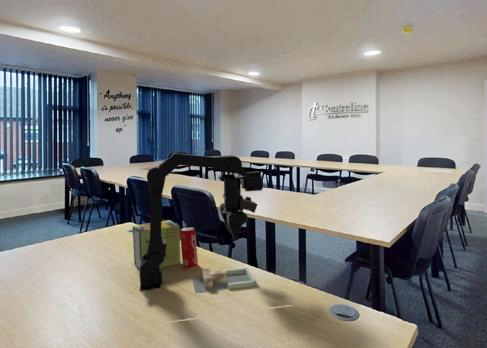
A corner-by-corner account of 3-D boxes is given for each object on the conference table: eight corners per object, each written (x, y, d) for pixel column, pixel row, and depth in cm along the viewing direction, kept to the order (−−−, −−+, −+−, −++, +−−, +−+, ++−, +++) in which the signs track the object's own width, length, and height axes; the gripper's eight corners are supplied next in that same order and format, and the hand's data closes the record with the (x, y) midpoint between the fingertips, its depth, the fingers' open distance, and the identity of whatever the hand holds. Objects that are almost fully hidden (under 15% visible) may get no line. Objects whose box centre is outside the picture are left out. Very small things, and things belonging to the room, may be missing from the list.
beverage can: (195, 270, 123) (194, 231, 122) (178, 269, 125) (177, 230, 123) (200, 264, 129) (199, 226, 128) (184, 263, 131) (183, 226, 129)
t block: (205, 289, 107) (204, 278, 107) (202, 278, 115) (202, 269, 115) (227, 286, 109) (227, 276, 109) (223, 276, 117) (223, 266, 117)
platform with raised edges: (195, 294, 105) (195, 288, 105) (192, 278, 116) (192, 273, 116) (256, 287, 110) (256, 281, 109) (247, 272, 121) (247, 267, 121)
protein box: (181, 263, 130) (180, 225, 129) (142, 273, 122) (140, 231, 120) (171, 255, 139) (169, 219, 137) (133, 264, 130) (131, 225, 129)
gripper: (262, 195, 107) (262, 242, 109) (248, 187, 125) (248, 227, 127) (228, 197, 105) (229, 245, 106) (219, 188, 123) (219, 229, 124)
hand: (232, 236), depth 116 cm, fingers open, 9 cm apart
